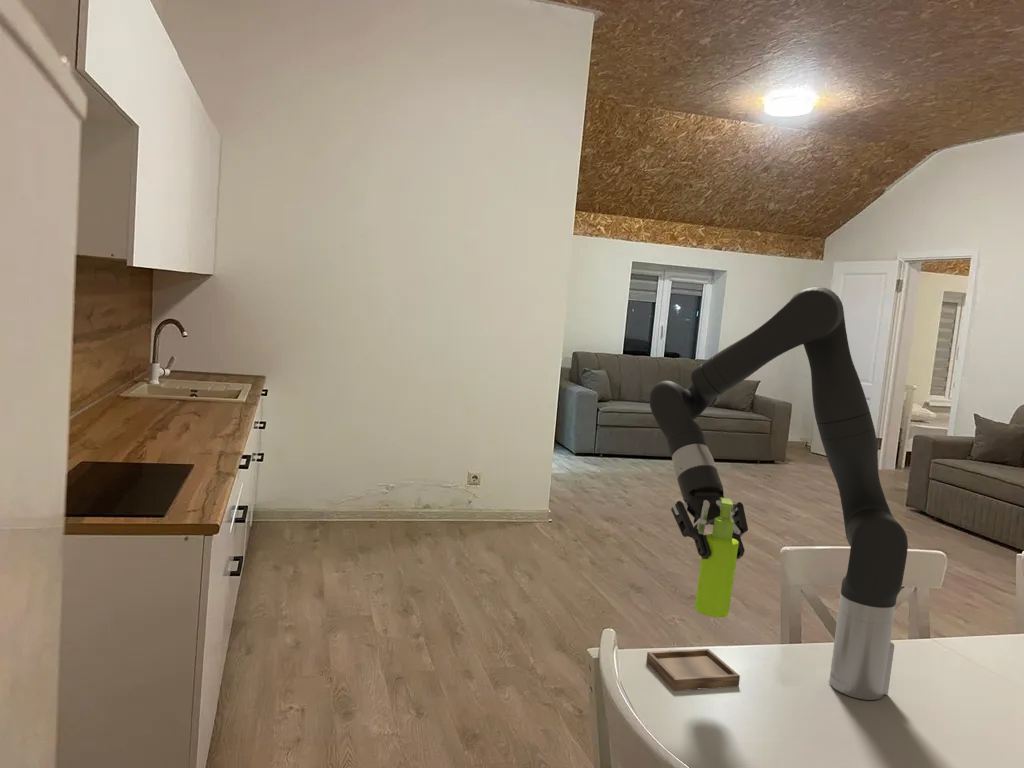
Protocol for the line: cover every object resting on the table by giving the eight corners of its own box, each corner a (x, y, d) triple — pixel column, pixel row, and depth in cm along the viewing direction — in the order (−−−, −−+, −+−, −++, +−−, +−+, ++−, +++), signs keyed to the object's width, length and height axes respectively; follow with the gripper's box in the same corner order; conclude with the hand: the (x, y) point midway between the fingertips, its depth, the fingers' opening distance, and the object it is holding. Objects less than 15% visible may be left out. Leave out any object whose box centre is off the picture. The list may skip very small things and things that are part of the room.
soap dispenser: (726, 605, 142) (742, 498, 140) (729, 619, 136) (746, 507, 134) (693, 599, 143) (708, 493, 141) (695, 613, 137) (710, 502, 135)
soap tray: (707, 658, 152) (708, 648, 152) (738, 686, 142) (739, 675, 142) (646, 662, 149) (647, 651, 148) (674, 690, 138) (675, 679, 138)
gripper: (671, 462, 142) (696, 547, 132) (739, 464, 146) (769, 547, 136) (653, 483, 147) (677, 567, 137) (720, 485, 152) (748, 566, 142)
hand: (723, 556), depth 137 cm, fingers closed on soap dispenser, 6 cm apart
